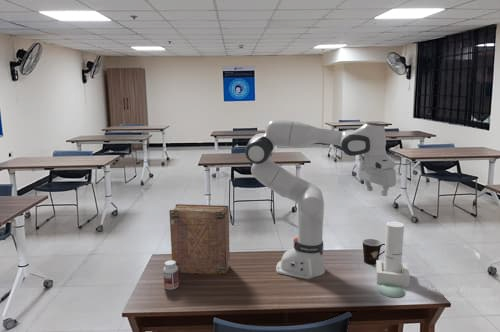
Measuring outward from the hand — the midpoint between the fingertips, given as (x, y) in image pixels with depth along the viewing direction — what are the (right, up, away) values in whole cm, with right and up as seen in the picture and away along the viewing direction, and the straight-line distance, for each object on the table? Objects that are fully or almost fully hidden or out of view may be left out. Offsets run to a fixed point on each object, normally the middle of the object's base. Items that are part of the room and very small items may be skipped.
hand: (377, 193), depth 168 cm
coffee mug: (+6, -35, +23) cm, 42 cm away
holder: (+9, -38, +7) cm, 39 cm away
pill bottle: (-87, -40, +2) cm, 96 cm away
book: (-77, -37, +17) cm, 87 cm away
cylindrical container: (+9, -38, +7) cm, 40 cm away
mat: (+4, -40, -4) cm, 41 cm away
